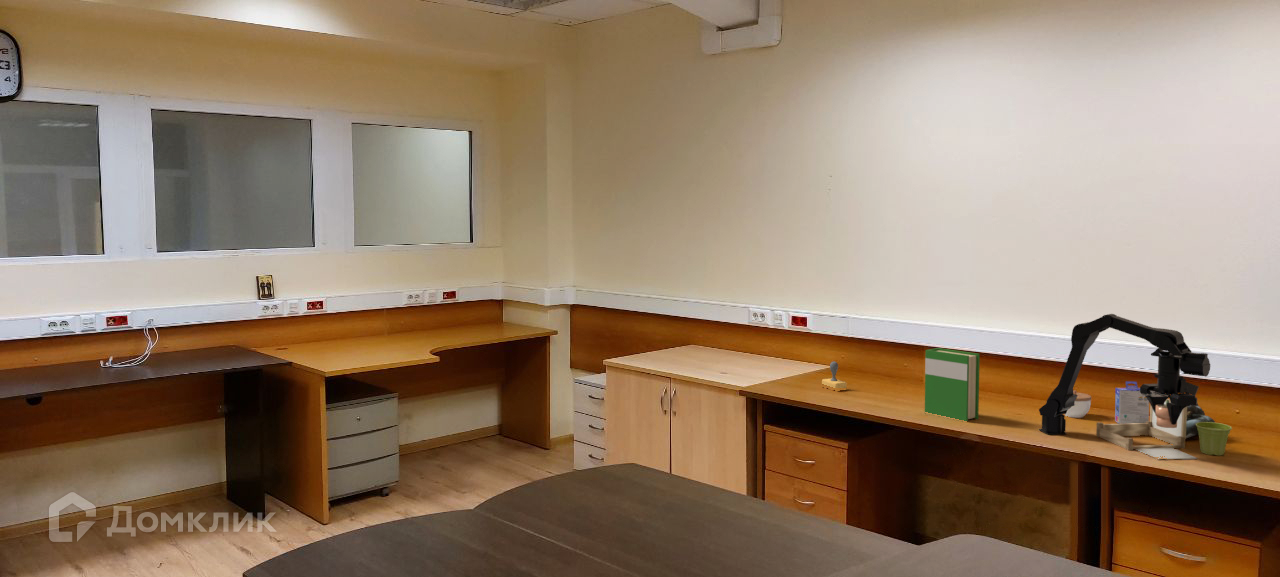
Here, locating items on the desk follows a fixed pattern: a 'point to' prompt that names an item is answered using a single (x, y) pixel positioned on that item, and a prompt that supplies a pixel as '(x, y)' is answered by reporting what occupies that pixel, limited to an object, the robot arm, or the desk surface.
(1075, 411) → the lidded jar
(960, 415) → the hardback book
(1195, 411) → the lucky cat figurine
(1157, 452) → the stone tile
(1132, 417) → the ink cartridge box
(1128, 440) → the frame
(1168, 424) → the seedling pot
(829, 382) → the rubber stamp
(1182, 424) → the lid pane
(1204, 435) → the plant pot
